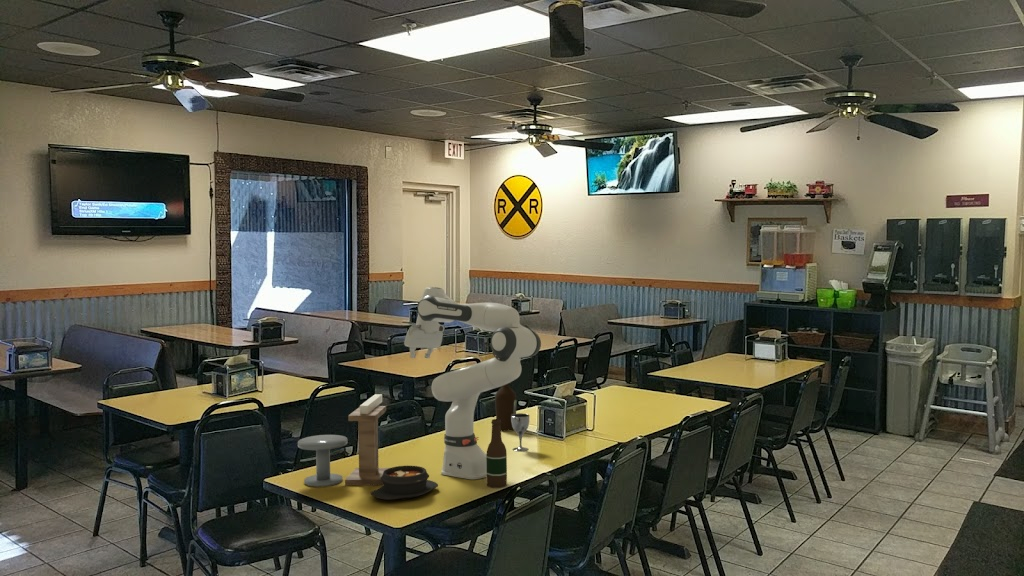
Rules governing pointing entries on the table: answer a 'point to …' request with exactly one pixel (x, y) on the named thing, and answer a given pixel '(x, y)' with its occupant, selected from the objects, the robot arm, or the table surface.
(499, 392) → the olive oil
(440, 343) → the robot arm
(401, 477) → the casserole
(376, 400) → the bar
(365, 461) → the walnut stand
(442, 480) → the table surface
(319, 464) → the cake stand
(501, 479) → the beer bottle
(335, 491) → the table surface
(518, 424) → the wine glass
